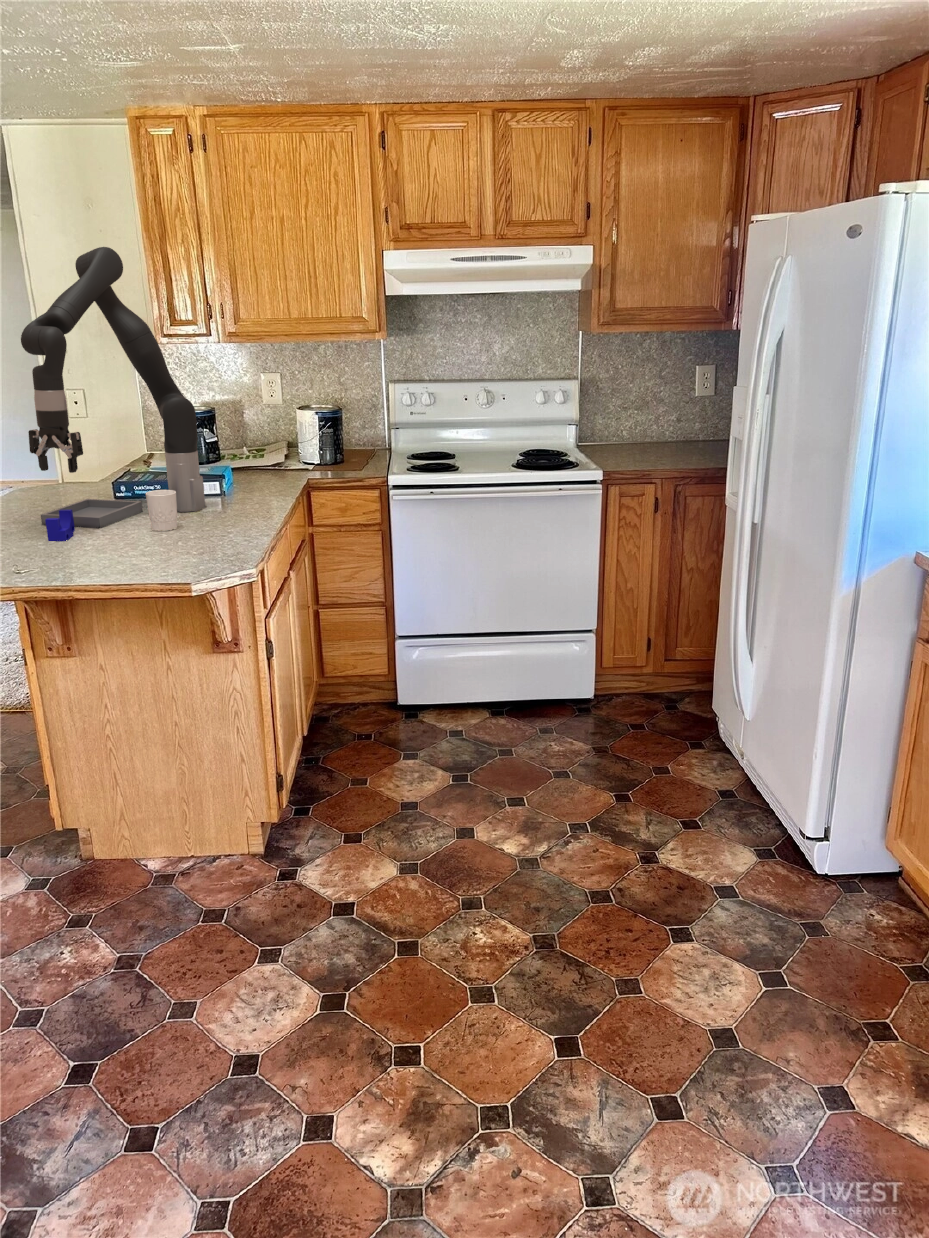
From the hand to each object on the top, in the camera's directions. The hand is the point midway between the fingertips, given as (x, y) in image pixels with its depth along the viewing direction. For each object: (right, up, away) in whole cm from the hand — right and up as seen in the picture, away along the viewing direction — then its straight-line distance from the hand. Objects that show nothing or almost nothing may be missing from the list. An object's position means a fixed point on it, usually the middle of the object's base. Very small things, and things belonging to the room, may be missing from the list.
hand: (58, 471), depth 241 cm
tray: (0, -10, +24) cm, 26 cm away
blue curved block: (0, -17, +4) cm, 17 cm away
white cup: (+24, -14, +12) cm, 30 cm away
